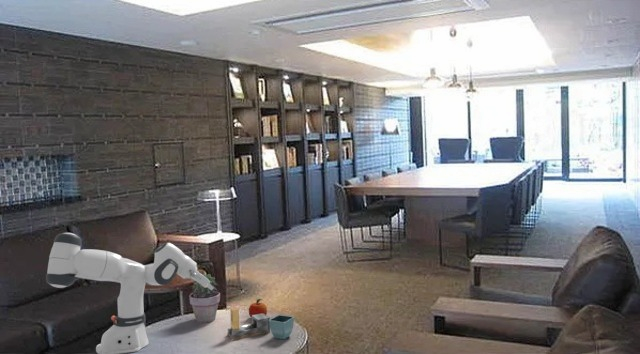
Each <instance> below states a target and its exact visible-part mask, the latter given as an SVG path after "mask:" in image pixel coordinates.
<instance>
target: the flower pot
mask: <svg viewBox="0 0 640 354" xmlns="http://www.w3.org/2000/svg"><path fill="white" fill-rule="evenodd" d="M294 320H295V317H294V316H291V315H282V314H277V315H276V316H274V317H272V318H270V320H269V324H270V333H271V334H272V336H273V337H274V338H275V339H279V340H285V339H287V338H288V337H290V336H291V334H292V332H293V329H294V322H295V321H294Z"/></svg>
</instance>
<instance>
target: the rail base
mask: <svg viewBox="0 0 640 354" xmlns="http://www.w3.org/2000/svg"><path fill="white" fill-rule="evenodd" d="M270 319H271V318H270V317H269V316H268V315H267V314H266V315H265V314H263V313H262V314H256V315H252V318H251V324H253V329H248V330H243V329H242V330H237V331H232V332H231V327H228V328H227V336H228V337H230V338H231V339H232V341H236V340H239V339H245V338H249V337H250V338H251V337H253V336H259V335H264V334H269V333H271V329H270V324H269V320H270Z"/></svg>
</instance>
